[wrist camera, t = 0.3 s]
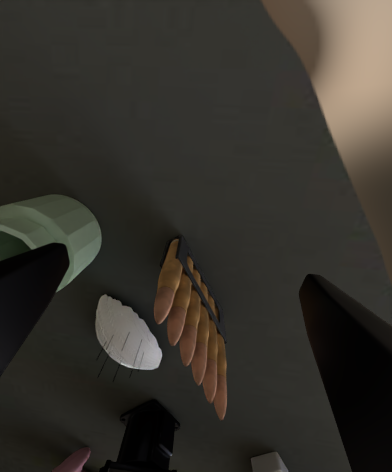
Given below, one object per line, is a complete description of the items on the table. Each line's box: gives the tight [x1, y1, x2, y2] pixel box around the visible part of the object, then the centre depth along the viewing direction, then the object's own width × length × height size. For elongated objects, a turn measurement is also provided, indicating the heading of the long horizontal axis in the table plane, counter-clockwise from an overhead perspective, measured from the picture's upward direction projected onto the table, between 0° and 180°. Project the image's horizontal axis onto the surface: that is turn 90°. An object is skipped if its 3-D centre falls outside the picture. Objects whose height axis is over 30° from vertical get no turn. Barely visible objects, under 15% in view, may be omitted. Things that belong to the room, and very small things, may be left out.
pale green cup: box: [0, 194, 102, 292], centre depth 20 cm, size 8×8×8 cm
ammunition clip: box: [154, 235, 227, 420], centre depth 20 cm, size 11×2×12 cm, turn 26°
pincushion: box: [95, 294, 162, 381], centre depth 25 cm, size 12×6×6 cm, turn 27°
